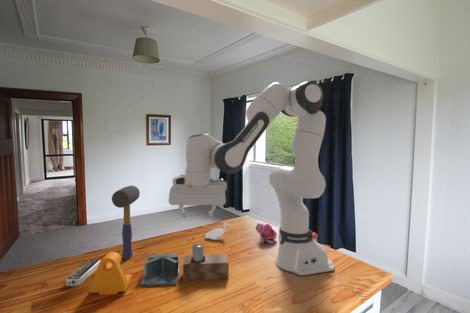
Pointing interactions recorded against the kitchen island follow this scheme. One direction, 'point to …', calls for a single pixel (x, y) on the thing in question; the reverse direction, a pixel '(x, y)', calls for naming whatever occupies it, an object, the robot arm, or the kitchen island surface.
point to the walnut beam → (206, 268)
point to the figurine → (216, 232)
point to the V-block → (161, 270)
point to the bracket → (110, 276)
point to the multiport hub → (82, 273)
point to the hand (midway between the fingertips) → (197, 216)
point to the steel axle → (197, 253)
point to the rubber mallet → (126, 215)
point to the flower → (266, 233)
